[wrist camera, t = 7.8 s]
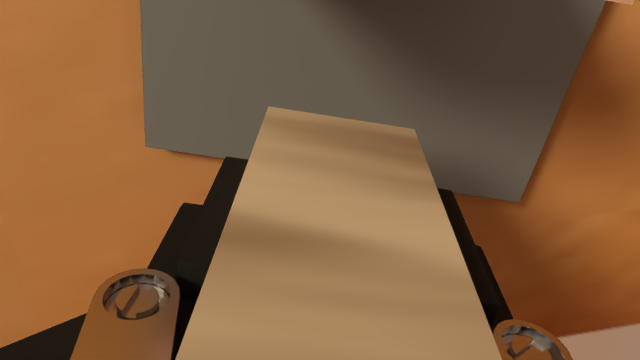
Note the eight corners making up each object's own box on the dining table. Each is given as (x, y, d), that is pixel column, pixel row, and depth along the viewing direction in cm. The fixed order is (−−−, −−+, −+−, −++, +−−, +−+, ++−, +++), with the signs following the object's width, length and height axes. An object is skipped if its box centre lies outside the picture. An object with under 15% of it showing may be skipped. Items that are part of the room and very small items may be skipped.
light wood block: (382, 245, 15) (473, 877, 5) (255, 227, 14) (91, 847, 5) (414, 129, 13) (667, 794, 3) (268, 106, 12) (35, 740, 3)
